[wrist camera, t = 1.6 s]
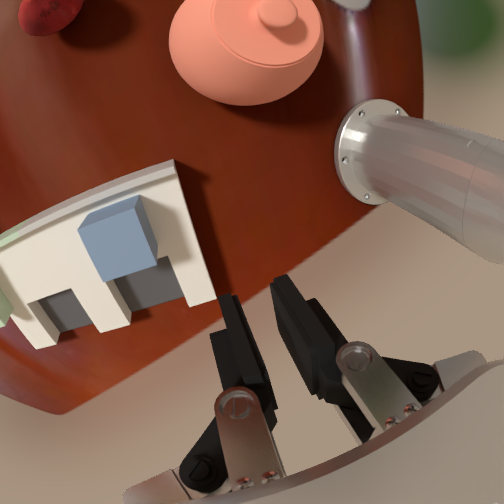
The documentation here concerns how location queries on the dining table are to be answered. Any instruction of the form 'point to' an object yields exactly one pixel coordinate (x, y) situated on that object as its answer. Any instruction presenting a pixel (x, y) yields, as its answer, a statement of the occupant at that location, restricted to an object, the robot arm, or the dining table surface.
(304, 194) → the dining table surface
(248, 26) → the sugar bowl
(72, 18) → the onion
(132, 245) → the block
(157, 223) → the box
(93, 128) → the dining table surface
